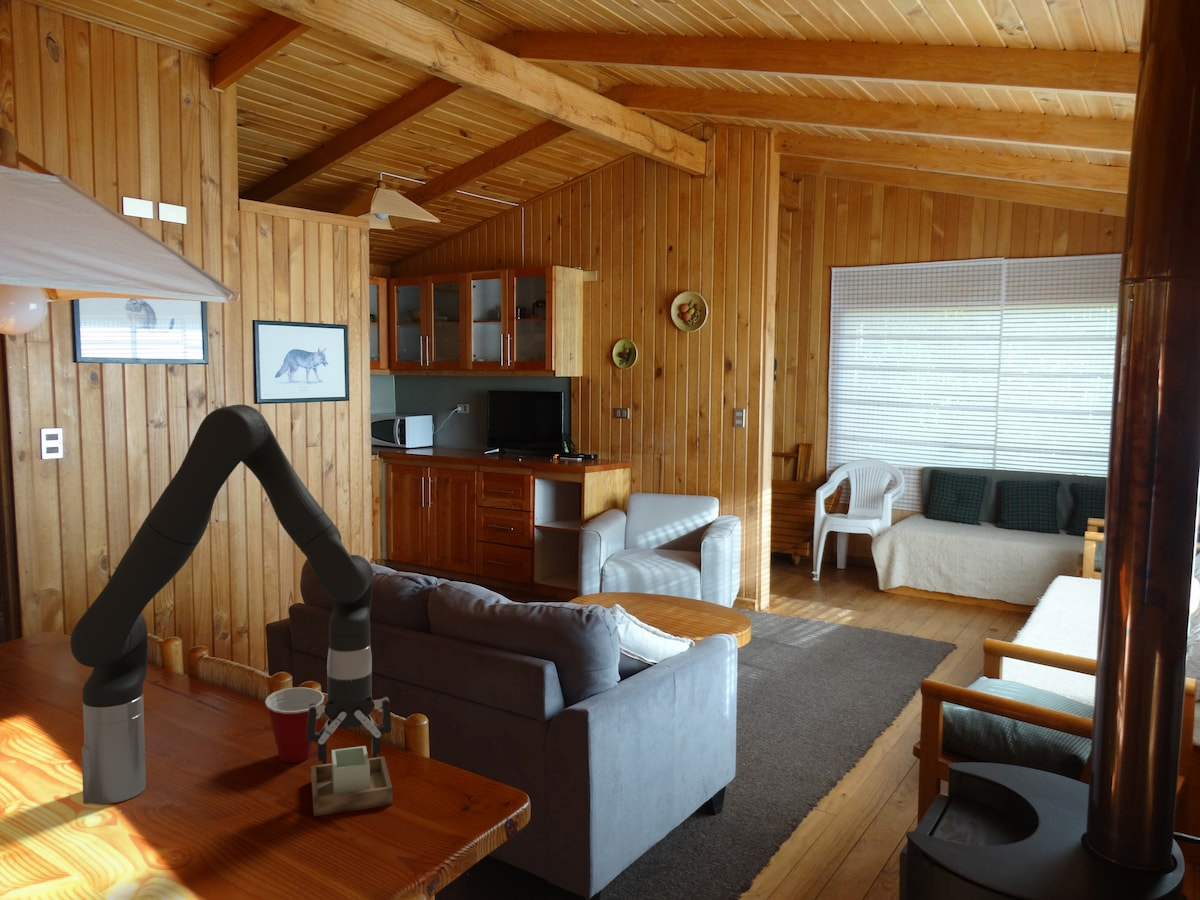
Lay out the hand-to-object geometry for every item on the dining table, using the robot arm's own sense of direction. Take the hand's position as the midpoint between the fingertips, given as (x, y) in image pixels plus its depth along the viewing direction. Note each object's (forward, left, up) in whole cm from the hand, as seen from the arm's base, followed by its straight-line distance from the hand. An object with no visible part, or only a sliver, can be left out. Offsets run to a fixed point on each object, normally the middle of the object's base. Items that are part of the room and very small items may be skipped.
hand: (349, 758), depth 154 cm
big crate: (0, 0, -6) cm, 6 cm away
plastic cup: (-9, +18, -7) cm, 21 cm away
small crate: (0, 0, -6) cm, 6 cm away
